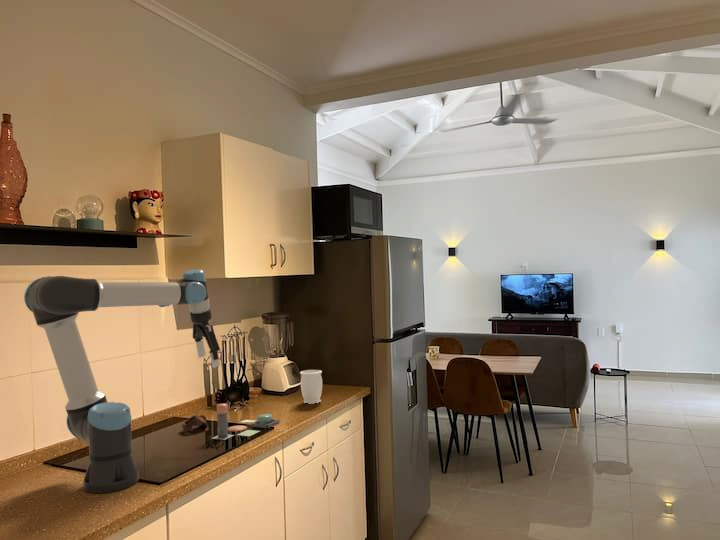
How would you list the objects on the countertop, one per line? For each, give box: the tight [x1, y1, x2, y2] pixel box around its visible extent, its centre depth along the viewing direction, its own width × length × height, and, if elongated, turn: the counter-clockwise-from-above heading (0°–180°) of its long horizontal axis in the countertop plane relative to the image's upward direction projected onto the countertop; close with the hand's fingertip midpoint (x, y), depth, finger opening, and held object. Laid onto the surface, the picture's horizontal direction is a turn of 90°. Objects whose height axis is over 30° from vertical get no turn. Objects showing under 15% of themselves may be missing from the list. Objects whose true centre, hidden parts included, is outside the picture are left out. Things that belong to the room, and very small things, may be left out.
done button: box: [256, 413, 274, 424], centre depth 216 cm, size 6×6×2 cm
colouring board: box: [211, 418, 280, 441], centre depth 209 cm, size 29×18×3 cm, turn 156°
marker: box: [216, 403, 229, 438], centre depth 201 cm, size 4×4×12 cm
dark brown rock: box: [181, 414, 210, 433], centre depth 213 cm, size 12×10×8 cm
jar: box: [299, 369, 323, 405], centre depth 258 cm, size 11×10×15 cm
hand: (209, 361), depth 207 cm, fingers open, 13 cm apart
